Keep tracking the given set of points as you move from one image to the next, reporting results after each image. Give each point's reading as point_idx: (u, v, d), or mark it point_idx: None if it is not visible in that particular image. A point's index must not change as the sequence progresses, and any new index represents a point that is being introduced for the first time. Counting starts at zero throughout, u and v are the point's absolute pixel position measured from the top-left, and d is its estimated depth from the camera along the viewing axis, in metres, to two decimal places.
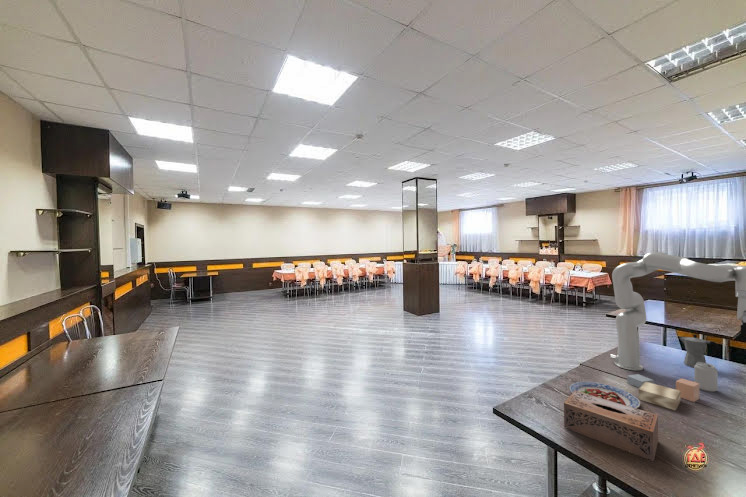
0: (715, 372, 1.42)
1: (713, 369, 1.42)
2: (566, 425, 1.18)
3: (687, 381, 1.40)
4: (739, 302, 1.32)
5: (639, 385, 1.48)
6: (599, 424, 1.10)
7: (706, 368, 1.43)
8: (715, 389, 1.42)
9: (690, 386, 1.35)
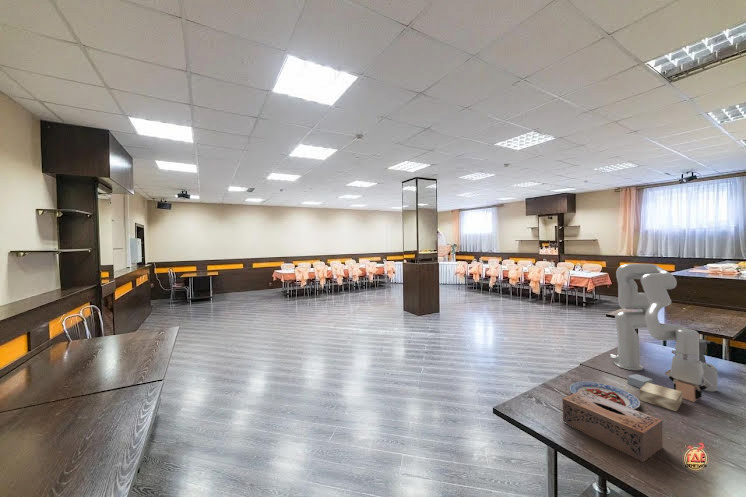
0: (715, 372, 1.42)
1: (713, 369, 1.42)
2: (564, 420, 1.21)
3: None
4: (699, 367, 1.33)
5: (640, 385, 1.48)
6: (593, 421, 1.11)
7: (706, 368, 1.43)
8: (715, 389, 1.42)
9: (690, 386, 1.35)
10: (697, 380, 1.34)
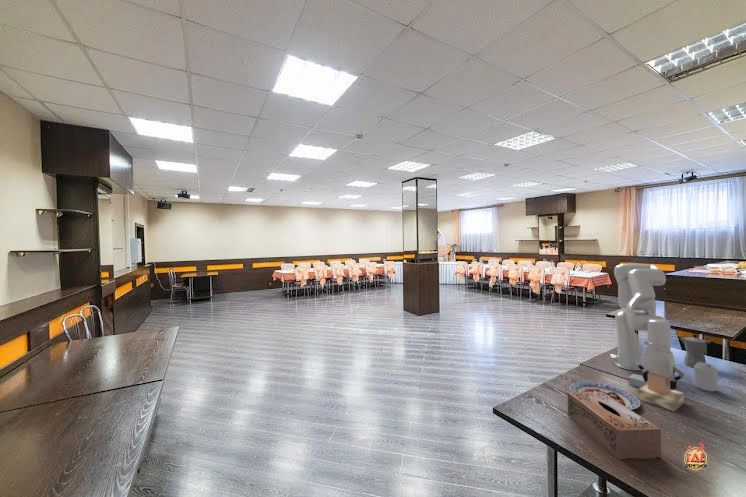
0: (715, 372, 1.42)
1: (713, 369, 1.42)
2: (569, 413, 1.26)
3: None
4: (670, 358, 1.31)
5: None
6: (586, 416, 1.15)
7: (706, 368, 1.43)
8: (715, 389, 1.42)
9: (661, 379, 1.34)
10: (668, 371, 1.32)
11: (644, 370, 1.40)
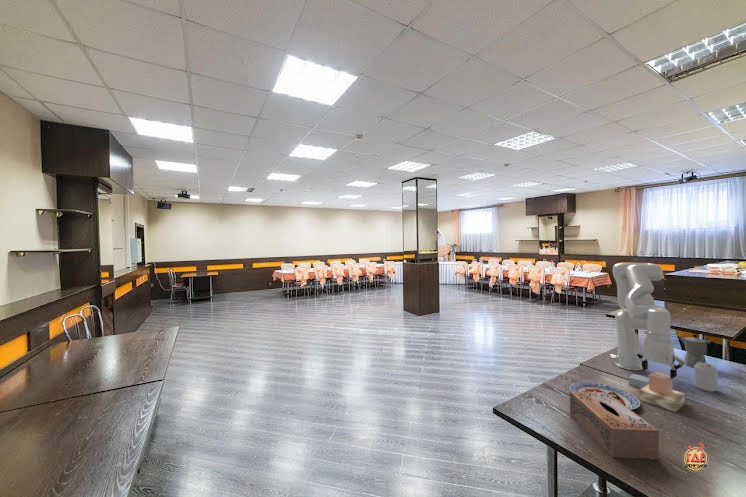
0: (715, 372, 1.42)
1: (713, 369, 1.42)
2: (571, 412, 1.26)
3: (660, 374, 1.37)
4: (670, 347, 1.32)
5: (643, 386, 1.47)
6: (585, 415, 1.16)
7: (706, 368, 1.43)
8: (715, 389, 1.42)
9: (662, 379, 1.33)
10: (667, 360, 1.32)
11: (643, 359, 1.41)
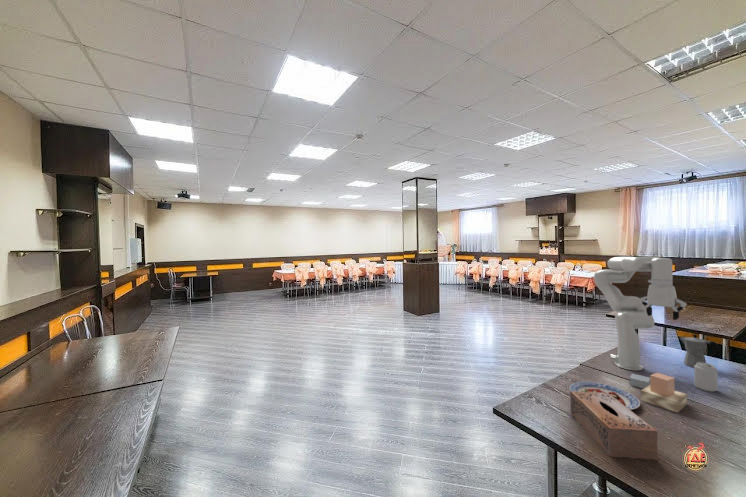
0: (715, 372, 1.42)
1: (713, 369, 1.42)
2: (571, 412, 1.26)
3: (662, 375, 1.36)
4: (672, 291, 1.44)
5: (645, 386, 1.47)
6: (585, 414, 1.16)
7: (706, 368, 1.43)
8: (715, 389, 1.42)
9: (663, 380, 1.32)
10: (670, 303, 1.44)
11: (647, 305, 1.53)
